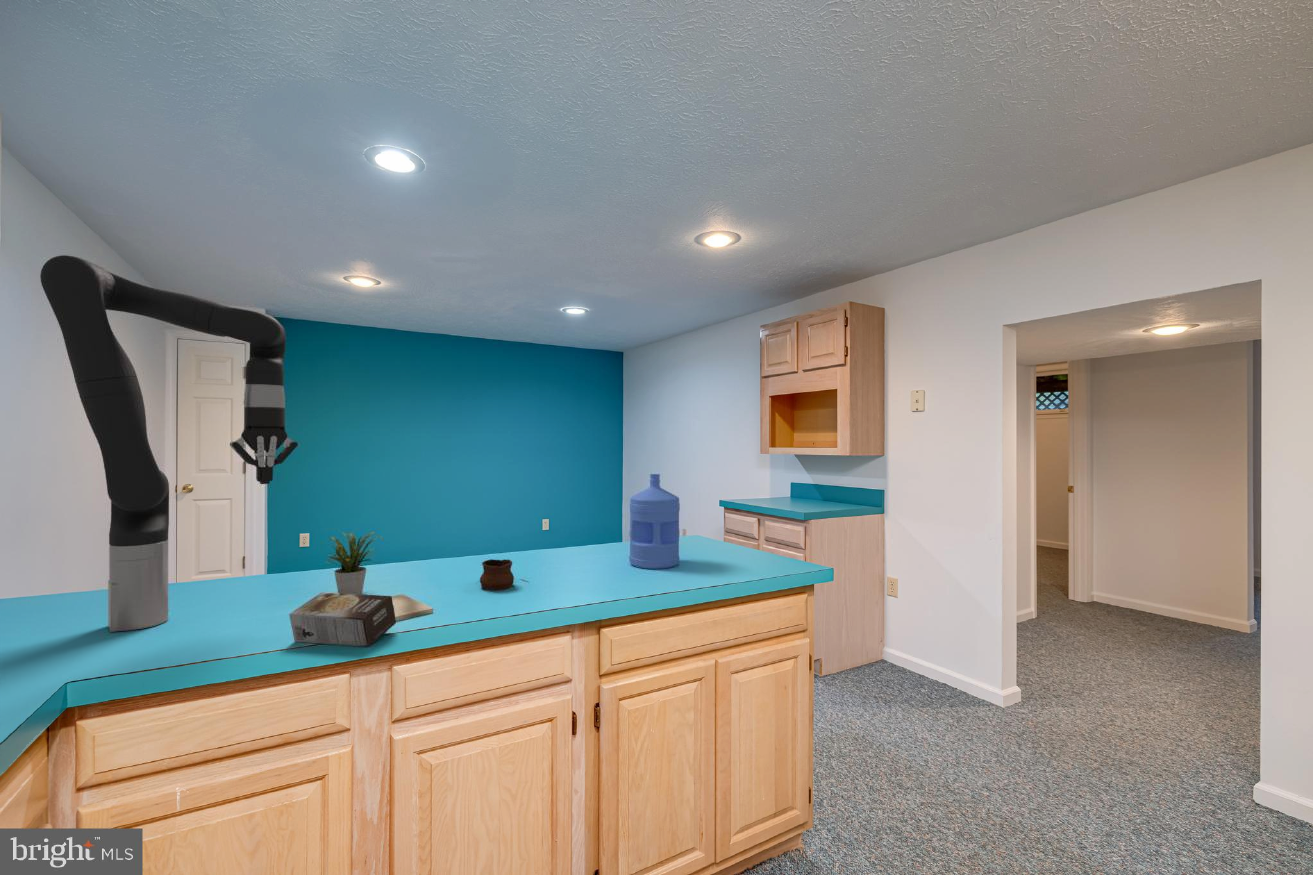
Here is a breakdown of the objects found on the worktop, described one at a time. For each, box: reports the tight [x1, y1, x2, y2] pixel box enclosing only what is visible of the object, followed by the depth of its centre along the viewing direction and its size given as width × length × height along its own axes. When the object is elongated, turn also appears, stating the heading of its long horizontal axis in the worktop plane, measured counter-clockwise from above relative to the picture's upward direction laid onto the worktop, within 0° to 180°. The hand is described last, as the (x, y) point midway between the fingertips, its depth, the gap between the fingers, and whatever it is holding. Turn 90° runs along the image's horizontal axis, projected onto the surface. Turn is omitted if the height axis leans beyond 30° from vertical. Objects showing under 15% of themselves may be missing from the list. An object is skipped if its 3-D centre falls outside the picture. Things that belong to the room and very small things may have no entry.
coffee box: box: [288, 592, 397, 648], centre depth 114 cm, size 9×6×16 cm
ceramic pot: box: [479, 558, 530, 592], centre depth 152 cm, size 18×18×7 cm
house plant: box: [321, 530, 383, 595], centre depth 144 cm, size 14×14×16 cm
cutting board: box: [391, 593, 434, 622], centre depth 128 cm, size 19×16×1 cm
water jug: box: [628, 473, 681, 570], centre depth 180 cm, size 16×16×28 cm
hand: (264, 483), depth 128 cm, fingers closed
